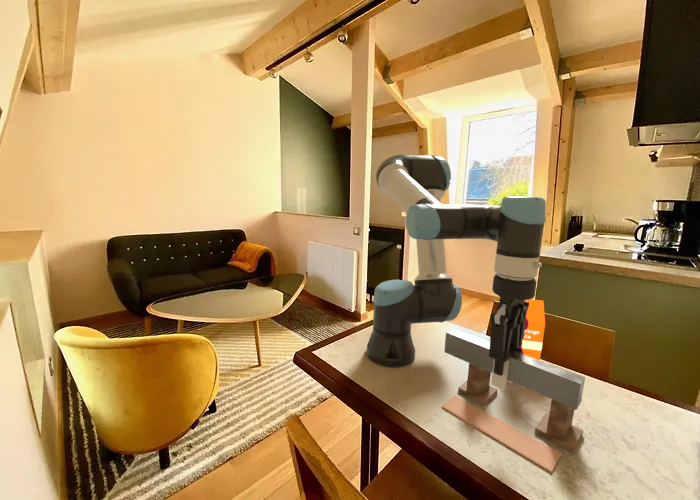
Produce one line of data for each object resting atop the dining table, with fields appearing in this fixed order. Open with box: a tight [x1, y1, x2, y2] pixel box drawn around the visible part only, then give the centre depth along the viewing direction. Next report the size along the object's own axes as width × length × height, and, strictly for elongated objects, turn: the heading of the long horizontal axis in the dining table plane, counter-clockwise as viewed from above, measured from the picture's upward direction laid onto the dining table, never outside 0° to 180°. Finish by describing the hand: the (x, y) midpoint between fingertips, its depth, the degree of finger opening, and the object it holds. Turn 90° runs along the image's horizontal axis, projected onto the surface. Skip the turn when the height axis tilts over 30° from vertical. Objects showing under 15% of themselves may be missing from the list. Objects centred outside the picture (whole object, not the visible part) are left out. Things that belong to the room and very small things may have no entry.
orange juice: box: [522, 298, 546, 361], centre depth 93 cm, size 8×9×20 cm
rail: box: [443, 328, 586, 411], centre depth 64 cm, size 26×3×5 cm, turn 42°
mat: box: [441, 395, 562, 474], centre depth 67 cm, size 23×6×1 cm, turn 42°
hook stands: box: [457, 363, 584, 454], centre depth 72 cm, size 25×7×11 cm, turn 42°
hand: (502, 382), depth 65 cm, fingers closed on rail, 3 cm apart
